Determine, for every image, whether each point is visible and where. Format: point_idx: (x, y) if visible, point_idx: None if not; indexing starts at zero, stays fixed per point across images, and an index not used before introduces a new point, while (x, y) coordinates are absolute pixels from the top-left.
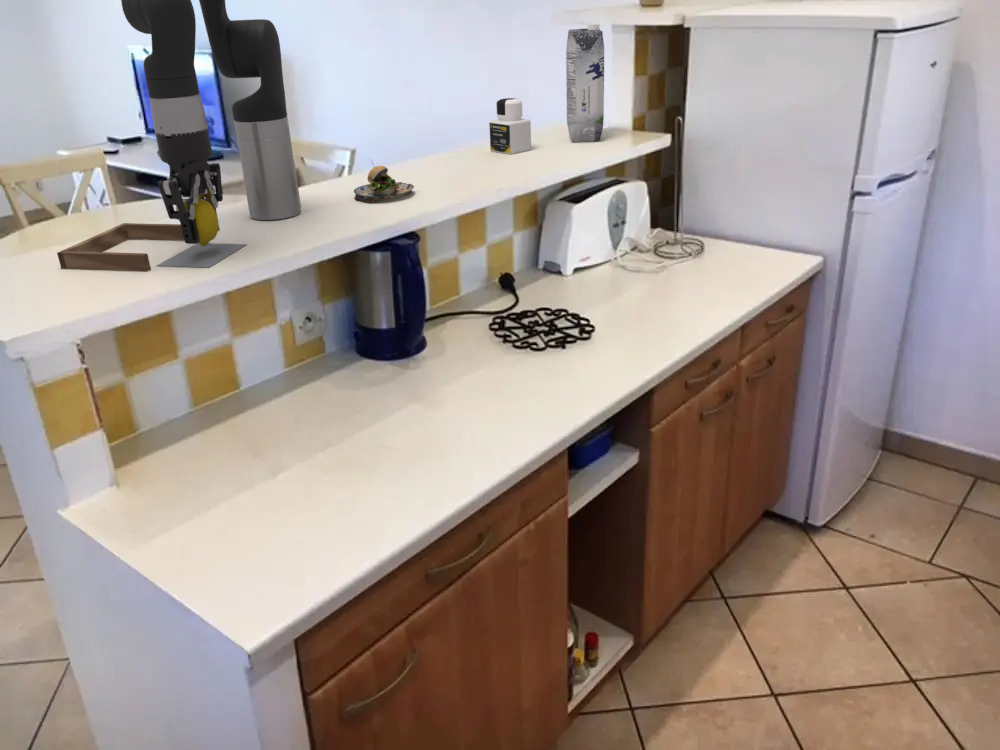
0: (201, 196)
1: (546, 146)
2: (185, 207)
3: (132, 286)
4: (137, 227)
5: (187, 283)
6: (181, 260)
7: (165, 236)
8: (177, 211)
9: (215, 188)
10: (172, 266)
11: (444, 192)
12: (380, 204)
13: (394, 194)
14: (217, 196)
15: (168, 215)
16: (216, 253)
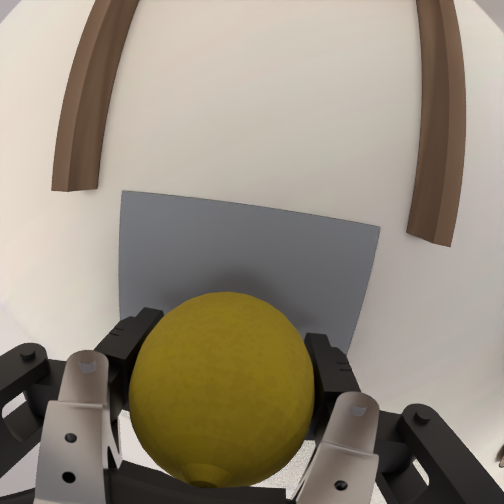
0: (304, 475)
1: None
2: (138, 412)
3: (7, 213)
4: (437, 8)
5: (37, 330)
6: (172, 253)
7: (427, 96)
8: (26, 398)
9: (396, 499)
10: (120, 246)
11: (496, 474)
12: (496, 450)
13: None
14: (376, 473)
15: (12, 349)
16: None
